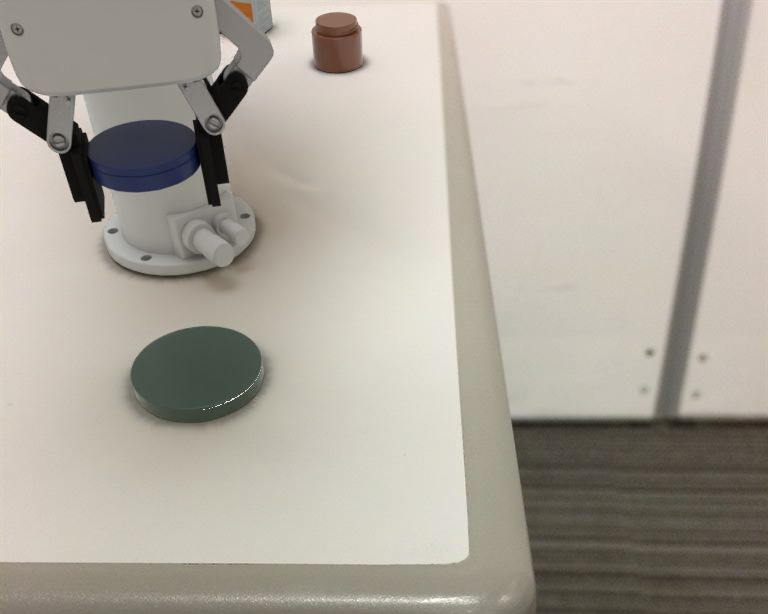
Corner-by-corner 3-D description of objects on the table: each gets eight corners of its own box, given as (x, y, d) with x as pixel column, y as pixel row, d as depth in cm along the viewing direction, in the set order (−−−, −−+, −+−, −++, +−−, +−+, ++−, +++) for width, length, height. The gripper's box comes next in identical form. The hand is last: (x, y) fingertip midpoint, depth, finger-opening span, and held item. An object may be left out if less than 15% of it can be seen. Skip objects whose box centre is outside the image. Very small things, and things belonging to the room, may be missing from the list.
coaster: (289, 381, 57) (287, 368, 56) (177, 442, 53) (173, 428, 52) (218, 323, 61) (215, 310, 60) (111, 375, 58) (106, 362, 57)
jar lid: (199, 137, 47) (194, 114, 46) (206, 185, 44) (201, 161, 43) (93, 148, 47) (87, 126, 46) (91, 199, 43) (84, 175, 42)
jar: (373, 63, 93) (371, 19, 90) (334, 77, 91) (332, 32, 87) (342, 49, 96) (339, 6, 92) (304, 62, 93) (300, 19, 90)
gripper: (253, -236, 37) (294, 155, 51) (-149, -213, 35) (7, 191, 48) (276, -210, 32) (314, 215, 46) (-190, -180, 30) (-4, 258, 43)
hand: (155, 200), depth 47 cm, fingers closed on jar lid, 5 cm apart
